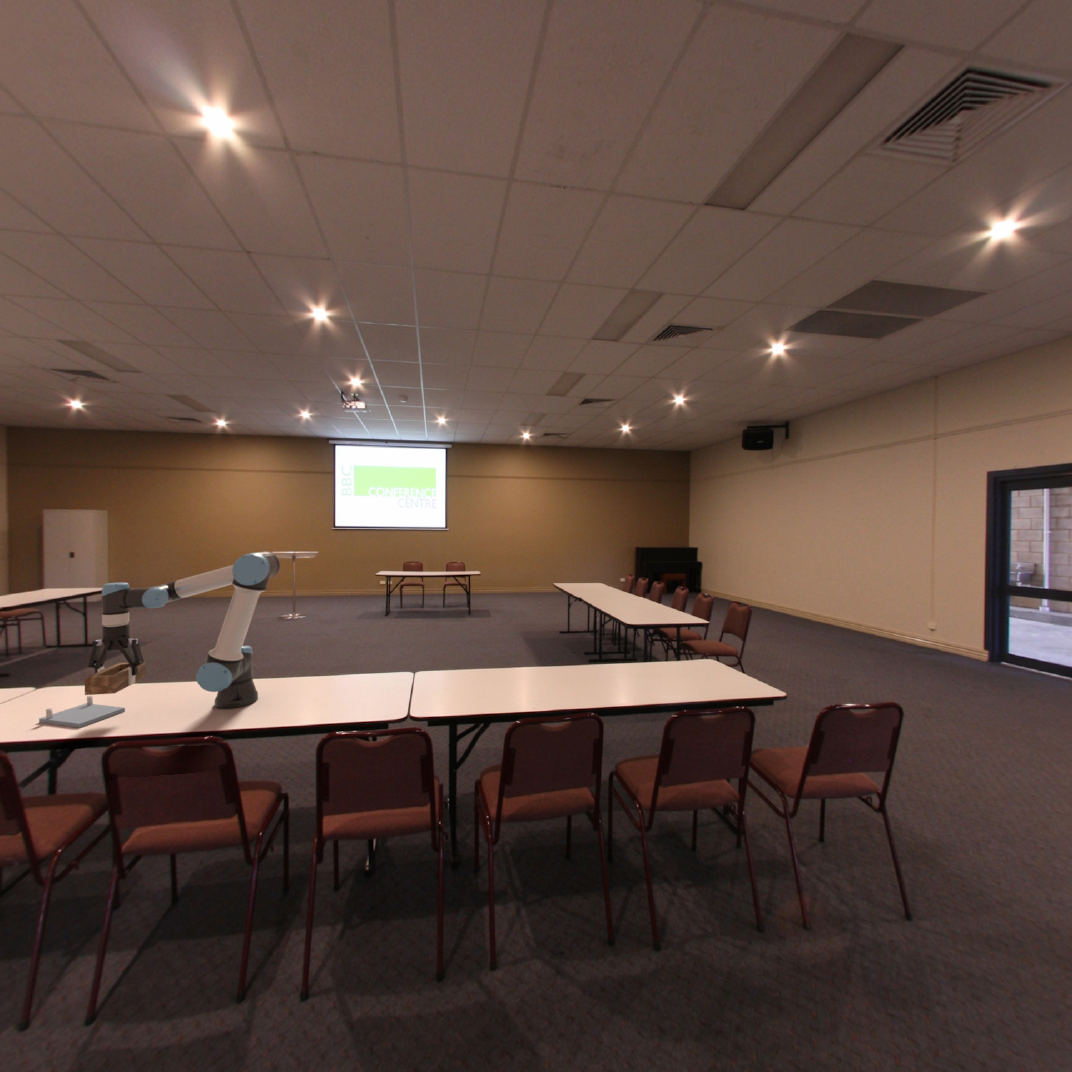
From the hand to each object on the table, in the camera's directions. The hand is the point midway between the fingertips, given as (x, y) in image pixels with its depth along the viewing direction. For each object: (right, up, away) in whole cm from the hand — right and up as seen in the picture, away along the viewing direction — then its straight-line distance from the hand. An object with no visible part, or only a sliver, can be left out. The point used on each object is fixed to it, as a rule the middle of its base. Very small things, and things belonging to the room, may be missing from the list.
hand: (116, 684), depth 174 cm
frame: (0, 0, 0) cm, 0 cm away
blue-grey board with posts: (-17, -14, +4) cm, 22 cm away
